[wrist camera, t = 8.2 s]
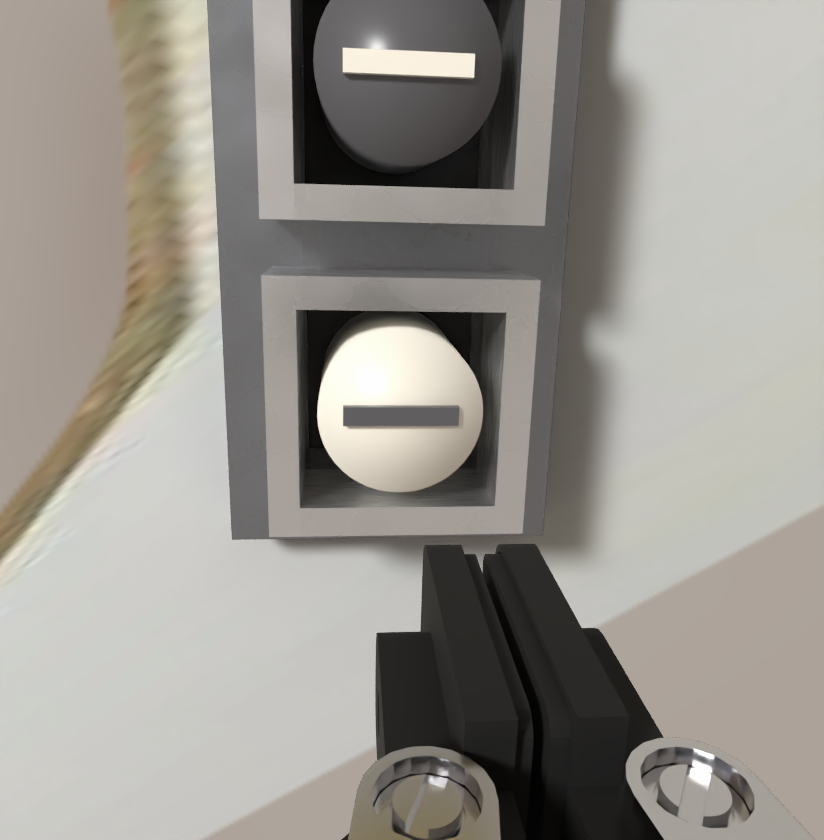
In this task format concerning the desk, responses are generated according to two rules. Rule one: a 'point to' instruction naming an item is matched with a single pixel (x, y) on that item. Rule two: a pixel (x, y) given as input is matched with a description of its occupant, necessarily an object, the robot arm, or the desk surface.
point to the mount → (389, 277)
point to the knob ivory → (397, 402)
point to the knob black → (405, 78)
